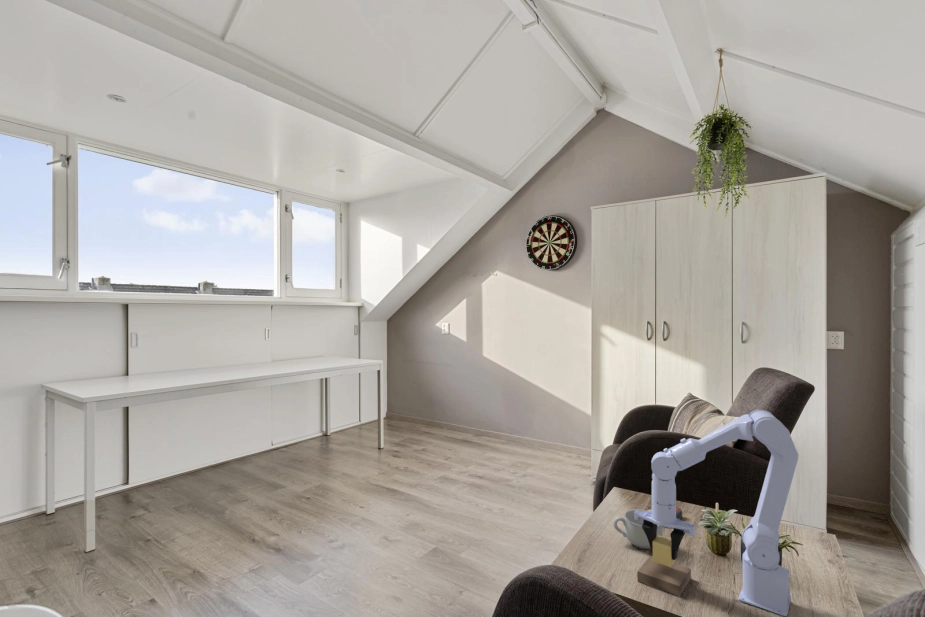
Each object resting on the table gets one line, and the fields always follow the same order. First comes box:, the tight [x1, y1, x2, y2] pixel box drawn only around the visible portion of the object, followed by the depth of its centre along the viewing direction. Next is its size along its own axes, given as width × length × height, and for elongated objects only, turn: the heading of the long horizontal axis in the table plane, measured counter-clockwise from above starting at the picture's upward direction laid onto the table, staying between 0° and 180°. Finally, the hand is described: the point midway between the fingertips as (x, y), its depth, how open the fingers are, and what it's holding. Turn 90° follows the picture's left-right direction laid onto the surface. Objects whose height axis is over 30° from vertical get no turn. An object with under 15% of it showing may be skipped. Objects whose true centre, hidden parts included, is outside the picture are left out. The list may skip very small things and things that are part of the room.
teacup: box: [612, 508, 664, 550], centre depth 138 cm, size 14×11×8 cm
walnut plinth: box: [636, 555, 692, 597], centre depth 119 cm, size 10×10×2 cm
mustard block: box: [652, 535, 677, 567], centre depth 119 cm, size 4×4×5 cm
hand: (664, 555), depth 119 cm, fingers closed on mustard block, 4 cm apart
